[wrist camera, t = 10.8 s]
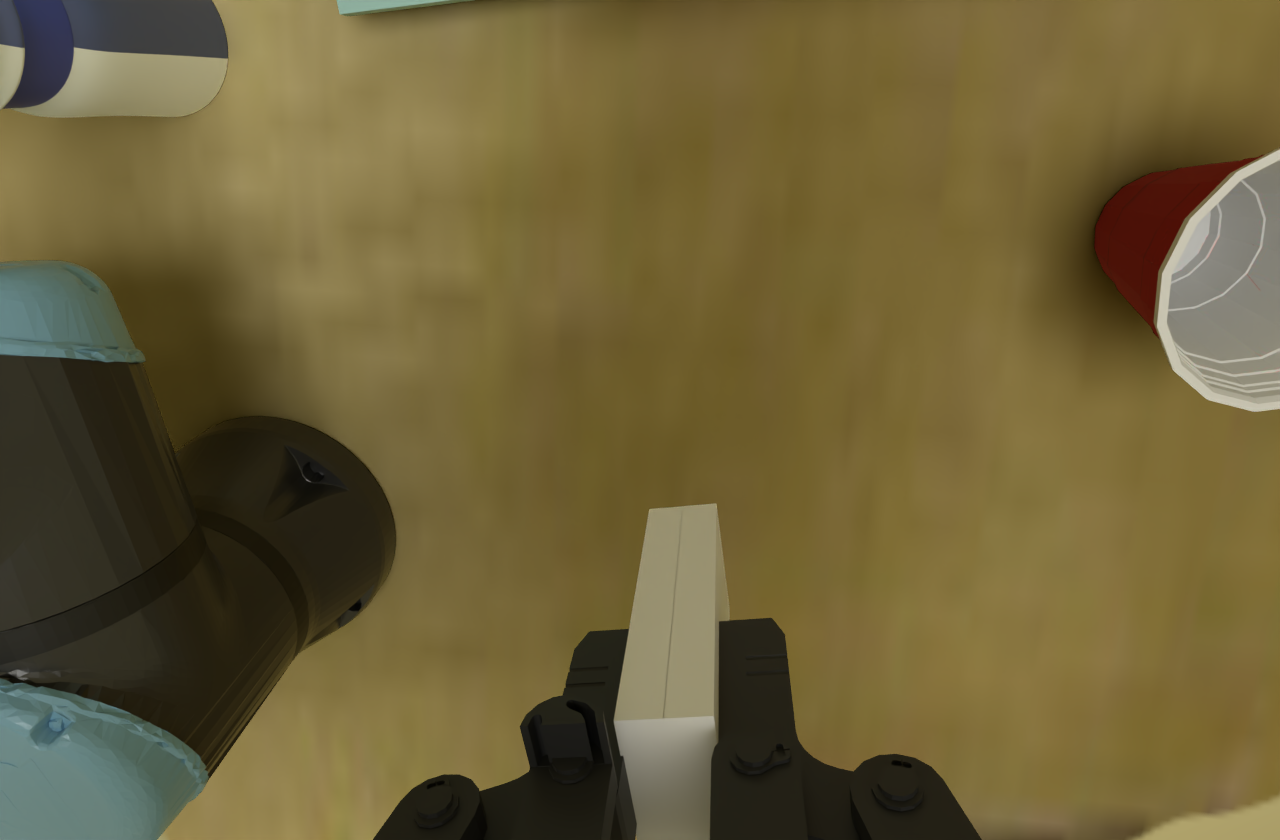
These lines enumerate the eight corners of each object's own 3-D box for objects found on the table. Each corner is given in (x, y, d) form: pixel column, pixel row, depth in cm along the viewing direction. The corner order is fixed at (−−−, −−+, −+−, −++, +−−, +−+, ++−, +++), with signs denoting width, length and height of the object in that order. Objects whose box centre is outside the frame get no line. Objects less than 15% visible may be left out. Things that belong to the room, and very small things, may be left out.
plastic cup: (1231, 339, 44) (1401, 426, 33) (1023, 324, 45) (1122, 404, 34) (1305, 124, 40) (1529, 141, 29) (1075, 111, 40) (1207, 123, 29)
